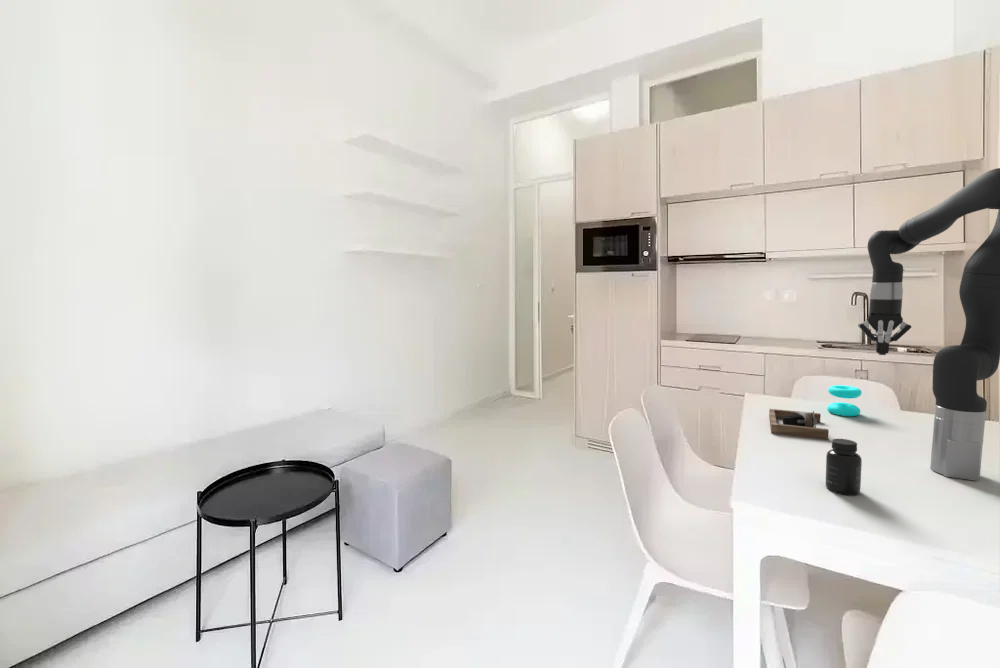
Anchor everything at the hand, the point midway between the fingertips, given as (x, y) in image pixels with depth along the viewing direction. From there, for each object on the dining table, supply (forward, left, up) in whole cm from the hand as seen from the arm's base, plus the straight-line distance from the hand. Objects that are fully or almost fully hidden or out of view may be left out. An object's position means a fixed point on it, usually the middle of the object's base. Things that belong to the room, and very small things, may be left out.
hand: (882, 354), depth 143 cm
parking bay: (+5, +20, -27) cm, 34 cm away
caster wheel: (+4, +20, -27) cm, 34 cm away
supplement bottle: (-46, +15, -27) cm, 56 cm away
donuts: (+31, +4, -27) cm, 42 cm away
